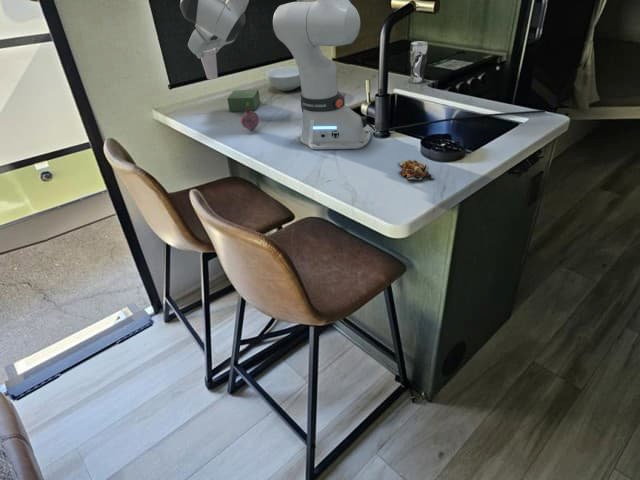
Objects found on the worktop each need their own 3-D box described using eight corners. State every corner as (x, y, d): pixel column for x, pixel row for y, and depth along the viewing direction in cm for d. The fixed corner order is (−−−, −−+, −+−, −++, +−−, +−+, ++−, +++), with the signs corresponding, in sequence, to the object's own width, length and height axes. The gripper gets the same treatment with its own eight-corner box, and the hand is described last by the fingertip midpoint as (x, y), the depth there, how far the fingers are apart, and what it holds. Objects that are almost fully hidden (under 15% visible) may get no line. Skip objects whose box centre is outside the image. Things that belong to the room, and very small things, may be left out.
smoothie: (217, 80, 155) (209, 38, 147) (200, 80, 156) (191, 38, 148) (223, 75, 160) (216, 34, 152) (207, 75, 161) (199, 34, 153)
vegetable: (240, 134, 147) (235, 105, 141) (245, 127, 152) (240, 99, 146) (258, 134, 146) (253, 105, 140) (262, 127, 151) (258, 99, 145)
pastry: (414, 160, 123) (414, 149, 121) (434, 179, 114) (436, 167, 112) (391, 165, 122) (391, 153, 120) (410, 184, 112) (411, 172, 110)
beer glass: (421, 84, 179) (424, 45, 170) (405, 82, 182) (407, 44, 173) (427, 79, 183) (430, 41, 175) (411, 78, 186) (414, 40, 178)
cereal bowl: (302, 94, 178) (300, 76, 174) (263, 94, 181) (261, 77, 176) (310, 81, 191) (309, 65, 187) (274, 82, 194) (272, 65, 190)
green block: (260, 101, 173) (258, 89, 170) (255, 110, 165) (253, 97, 162) (235, 102, 174) (233, 90, 172) (229, 111, 166) (227, 98, 163)
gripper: (235, 11, 150) (220, 40, 160) (192, 23, 137) (179, 53, 147) (247, 26, 151) (232, 54, 161) (205, 39, 137) (191, 68, 147)
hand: (206, 54), depth 154 cm, fingers closed on smoothie, 6 cm apart
